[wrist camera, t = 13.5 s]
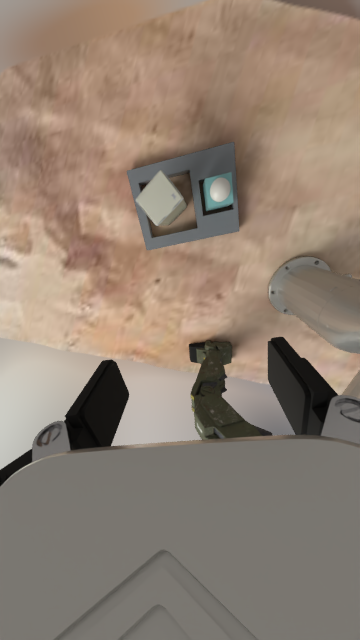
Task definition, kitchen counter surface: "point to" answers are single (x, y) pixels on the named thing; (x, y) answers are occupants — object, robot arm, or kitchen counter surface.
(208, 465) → the robot arm
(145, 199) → the box
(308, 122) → the kitchen counter surface
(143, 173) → the frame
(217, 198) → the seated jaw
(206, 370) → the mechanical leg
